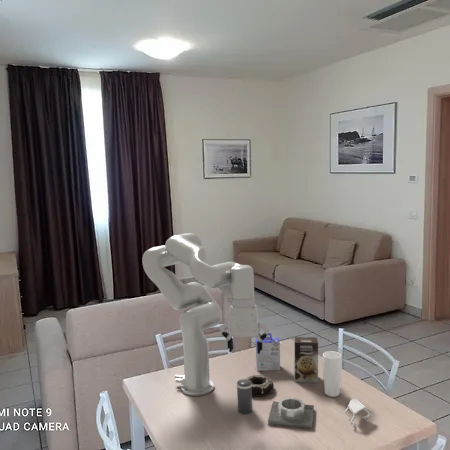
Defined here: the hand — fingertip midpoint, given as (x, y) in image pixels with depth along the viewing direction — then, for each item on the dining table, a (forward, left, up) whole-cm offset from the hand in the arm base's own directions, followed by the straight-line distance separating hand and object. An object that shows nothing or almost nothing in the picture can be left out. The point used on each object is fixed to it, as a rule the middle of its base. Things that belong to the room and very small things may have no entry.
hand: (245, 351), depth 146 cm
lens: (-1, 0, -21) cm, 21 cm away
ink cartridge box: (+2, +34, -21) cm, 40 cm away
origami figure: (+36, +2, -21) cm, 42 cm away
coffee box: (+18, +27, -21) cm, 39 cm away
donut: (+1, +15, -21) cm, 26 cm away
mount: (+15, -1, -21) cm, 26 cm away
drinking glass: (+28, +17, -21) cm, 39 cm away
